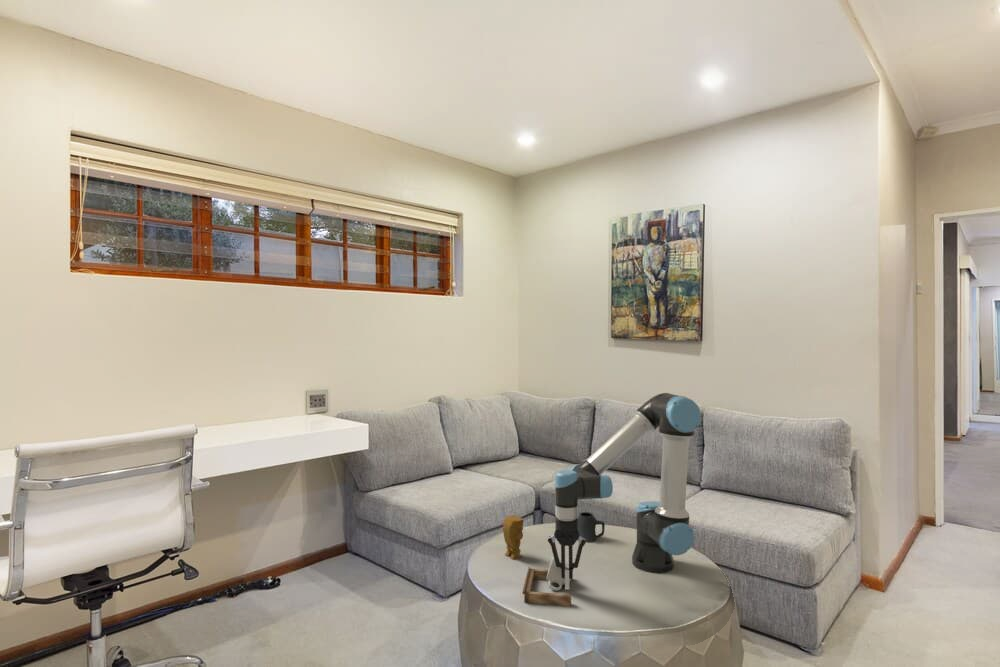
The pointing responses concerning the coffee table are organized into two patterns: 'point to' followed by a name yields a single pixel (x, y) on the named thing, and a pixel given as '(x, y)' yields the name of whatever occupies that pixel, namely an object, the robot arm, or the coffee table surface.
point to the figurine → (513, 535)
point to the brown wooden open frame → (540, 596)
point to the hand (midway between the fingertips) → (567, 587)
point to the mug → (589, 526)
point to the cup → (555, 575)
